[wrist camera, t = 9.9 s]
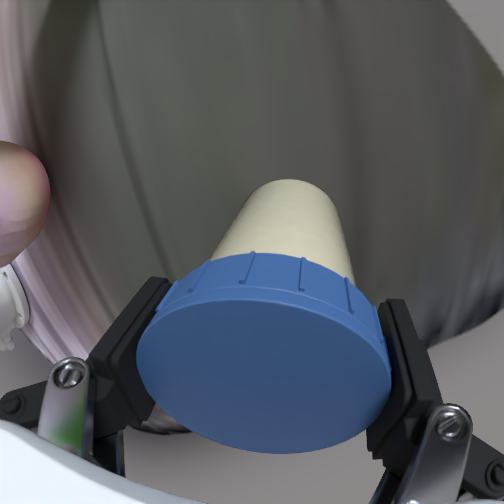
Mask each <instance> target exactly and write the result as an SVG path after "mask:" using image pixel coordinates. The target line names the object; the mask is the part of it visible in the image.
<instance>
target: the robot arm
mask: <svg viewBox="0 0 504 504" xmlns="http://www.w3.org/2000/svg"><path fill="white" fill-rule="evenodd" d="M172 285H173V284H172V283H169V281H168V279H167V278H160V277H150V278H149V279H148V280H147V282H146V283H145V284H144V285H143V286H142V288H141V289H140V290H139V291H138V293H137V294H136V295H135V296H134V297H133V299H132V300H131V301H130V302H129V304H128V305H127V306H126V307H125V309H124V310H123V311H122V312H121V314H120V315H119V316H118V317H117V319H116V320H115V321H114V323H113V324H112V325H111V326H110V328H109V329H108V330H107V332H106V333H105V334H104V335H103V337H102V338H101V339H100V341H99V342H98V343H97V345H96V346H95V347H94V349H93V350H92V351H91V353H90V354H89V357H88V358H87V360H86V361H84V360H83V359H81V358H78V357H69V358H65V359H63V360H60V361H59V362H58V363H56V364H55V365H54V366H53V367H52V369H51V371H50V373H49V376H48V380H47V381H43V382H40V383H37V384H34V385H30V386H27V387H23V388H20V389H16V390H13V391H10V392H8V393H6V394H5V395H4V396H3V397H2V398H1V400H0V504H207V503H203V502H198V501H194V500H190V499H186V498H183V497H180V496H176V495H173V494H169V493H166V492H163V491H160V490H157V489H154V488H151V487H148V486H145V485H142V484H139V483H137V482H134V481H132V480H129V479H126V477H125V464H124V447H123V446H124V444H123V429H125V427H126V426H127V424H130V425H133V426H136V427H139V428H140V426H141V424H142V422H143V421H147V420H148V418H149V416H150V414H151V412H152V410H153V408H154V406H155V404H156V402H155V401H154V400H153V399H152V397H151V396H150V395H149V393H148V392H147V390H146V388H145V386H144V384H143V382H142V379H141V377H140V374H139V371H138V368H137V364H136V352H137V347H138V343H139V340H140V338H141V336H142V334H143V332H144V331H145V329H146V328H147V326H148V325H149V323H150V322H151V320H152V319H153V317H154V316H155V314H156V313H157V312H156V311H155V310H156V308H157V307H158V305H159V304H160V302H161V301H162V299H163V298H164V297H165V295H166V294H167V292H168V291H169V289H170V288H171V287H172ZM377 314H378V318H379V322H380V326H381V330H382V334H383V336H384V337H385V341H386V345H387V350H388V354H389V359H390V363H391V368H392V372H390V374H391V392H390V397H389V399H388V401H387V403H386V405H385V406H384V408H383V410H382V412H381V413H380V415H379V416H378V418H377V419H376V420H375V421H374V423H372V424H371V425H370V426H369V427H368V428H367V429H366V435H367V449H368V451H372V454H373V455H372V457H373V459H374V460H375V459H383V466H384V467H386V470H385V472H384V474H383V476H382V479H381V481H380V482H379V485H378V487H377V488H376V490H375V493H374V494H373V496H372V498H371V500H370V502H369V504H504V455H503V454H502V453H500V452H498V451H497V450H496V449H494V448H492V447H491V446H489V445H488V444H486V443H485V442H483V441H482V440H480V439H479V438H477V437H476V436H474V435H473V434H472V431H473V423H472V420H471V417H470V415H469V414H468V412H467V411H466V410H465V409H464V408H462V407H461V406H458V405H456V404H451V403H447V404H443V401H442V397H441V393H440V390H439V387H438V383H437V380H436V377H435V374H434V370H433V367H432V364H431V362H430V358H429V355H428V352H427V349H426V346H425V344H424V342H423V340H421V339H418V336H417V333H416V330H415V327H414V325H413V322H412V319H411V316H410V314H409V311H408V309H407V306H406V303H405V301H404V300H403V299H386V301H385V303H380V305H379V308H378V312H377ZM28 320H29V307H28V302H27V299H26V296H25V293H24V290H23V288H22V286H21V283H20V281H19V279H18V277H17V275H16V273H15V271H14V270H13V268H12V266H11V265H10V264H8V265H7V266H4V267H2V268H0V350H1V351H6V350H13V349H14V348H15V343H14V341H13V339H12V337H11V336H10V332H11V331H12V330H13V329H14V328H17V329H20V328H23V327H24V326H25V325H26V324H27V322H28Z"/></svg>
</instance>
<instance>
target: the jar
mask: <svg viewBox="0 0 504 504" xmlns="http://www.w3.org/2000/svg"><path fill="white" fill-rule="evenodd" d="M251 251H255V253H274V254H284V255H289V256H293V257H298V258H302V257H305V258H306V260H308V261H311V262H314V263H317V264H320V265H322V266H324V267H326V268H328V269H330V270H332V271H334V272H336V273H337V274H339V275H340V276H342V277H343V278H345V277H348V278H349V279H350V282H351V283H352V284H353V285H354V286H355V287H356V283H355V279H354V274H353V270H352V266H351V261H350V257H349V253H348V249H347V245H346V241H345V237H344V233H343V229H342V225H341V222H340V218H339V214H338V212H337V209H336V207H335V205H334V204H333V202H332V201H331V199H330V198H329V197H328V196H327V195H326V194H325V193H324V192H323V191H321V190H320V189H319V188H317V187H315V186H314V185H312V184H309V183H307V182H304V181H300V180H293V179H283V180H276V181H273V182H270V183H267V184H265V185H263V186H261V187H260V188H258V189H257V190H256V191H254V192H253V193H252V194H251V195H250V196H249V198H248V199H247V200H246V202H245V203H244V205H243V206H242V208H241V210H240V211H239V213H238V214H237V216H236V217H235V219H234V221H233V222H232V224H231V225H230V227H229V228H228V230H227V232H226V233H225V235H224V236H223V238H222V240H221V241H220V243H219V244H218V246H217V248H216V249H215V251H214V252H213V254H212V256H211V257H210V259H209V261H210V262H211V261H213V260H216V259H220V258H224V257H227V256H231V255H238V254H245V253H250V252H251Z"/></svg>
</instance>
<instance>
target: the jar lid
mask: <svg viewBox="0 0 504 504" xmlns="http://www.w3.org/2000/svg"><path fill="white" fill-rule="evenodd" d="M155 311H156V312H157V313H156V314H155V316H154V317H153V319H152V320H151V322H150V323H149V325H148V326H147V328H146V329H145V331H144V332H143V334H142V336H141V338H140V340H139V343H138V347H137V352H136V364H137V368H138V371H139V374H140V377H141V379H142V382H143V384H144V386H145V388H146V390H147V392H148V393H149V395H150V396H151V397H152V399H153V400H154V401H155V402H156V403H157V404H158V406H159V407H160V408H161V409H162V410H163V411H165V412H166V413H167V414H168V415H169V416H170V417H172V418H173V419H174V420H176V421H177V422H178V423H180V424H181V425H183V426H184V427H186V428H188V429H189V430H191V431H193V432H195V433H197V434H199V435H201V436H203V437H205V438H208V439H210V440H212V441H215V442H218V443H221V444H223V445H227V446H230V447H234V448H238V449H243V450H247V451H253V452H260V453H272V454H289V453H290V454H291V453H303V452H310V451H315V450H320V449H324V448H327V447H331V446H334V445H337V444H339V443H342V442H345V441H347V440H349V439H351V438H353V437H355V436H356V435H358V434H359V433H361V432H362V431H364V430H365V429H367V428H368V427H369V426H370V425H371V424H372V423H374V421H375V420H376V419H377V418H378V416H379V415H380V413H381V412H382V410H383V408H384V406H385V405H386V403H387V401H388V399H389V397H390V392H391V374H390V372H392V368H391V363H390V359H389V354H388V350H387V345H386V341H385V337H384V336H383V334H382V330H381V326H380V322H379V318H378V314H377V310H376V307H375V306H371V304H370V303H369V301H368V300H367V299H366V298H365V296H364V295H363V294H362V293H361V292H360V291H359V290H358V289H357V288H356V287H355V286H354V285H353V284H352V283H351V282H350V279H349V278H348V277H345V278H343V277H342V276H340V275H339V274H337V273H336V272H334V271H332V270H330V269H328V268H326V267H324V266H322V265H320V264H317V263H314V262H311V261H308V260H306V258H305V257H302V258H298V257H293V256H289V255H284V254H274V253H255V251H251V252H250V253H245V254H238V255H231V256H227V257H224V258H220V259H216V260H213V261H211V262H210V261H209V260H207V261H205V263H204V264H203V265H201V266H199V267H198V268H196V269H195V270H193V271H191V272H190V273H188V274H187V275H186V276H185V277H184V278H182V279H181V280H180V281H179V282H178V281H177V280H176V281H175V282H174V284H173V285H172V287H171V288H170V289H169V291H168V292H167V294H166V295H165V297H164V298H163V299H162V301H161V302H160V304H159V305H158V307H157V308H156V310H155Z"/></svg>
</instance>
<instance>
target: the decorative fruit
mask: <svg viewBox="0 0 504 504" xmlns="http://www.w3.org/2000/svg"><path fill="white" fill-rule="evenodd" d="M49 205H50V184H49V179H48V176H47V173H46V171H45V168H44V166H43V165H42V163H41V162H40V160H39V159H38V158H37V157H36V156H35V155H34V154H32V153H31V152H30V151H29V150H27V149H26V148H24V147H22V146H19V145H17V144H14V143H10V142H6V141H0V268H2V267H4V266H7V265H8V264H10V263H11V262H12V261H13V260H14V259H15V258H16V257H17V256H18V255H19V254H20V253H21V252H22V251H23V250H24V248H25V247H27V246H28V245H29V244H30V243H31V242H32V241H33V240H34V239H35V237H36V236H37V235H38V233H39V232H40V230H41V229H42V227H43V225H44V223H45V220H46V217H47V214H48V210H49Z"/></svg>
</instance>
